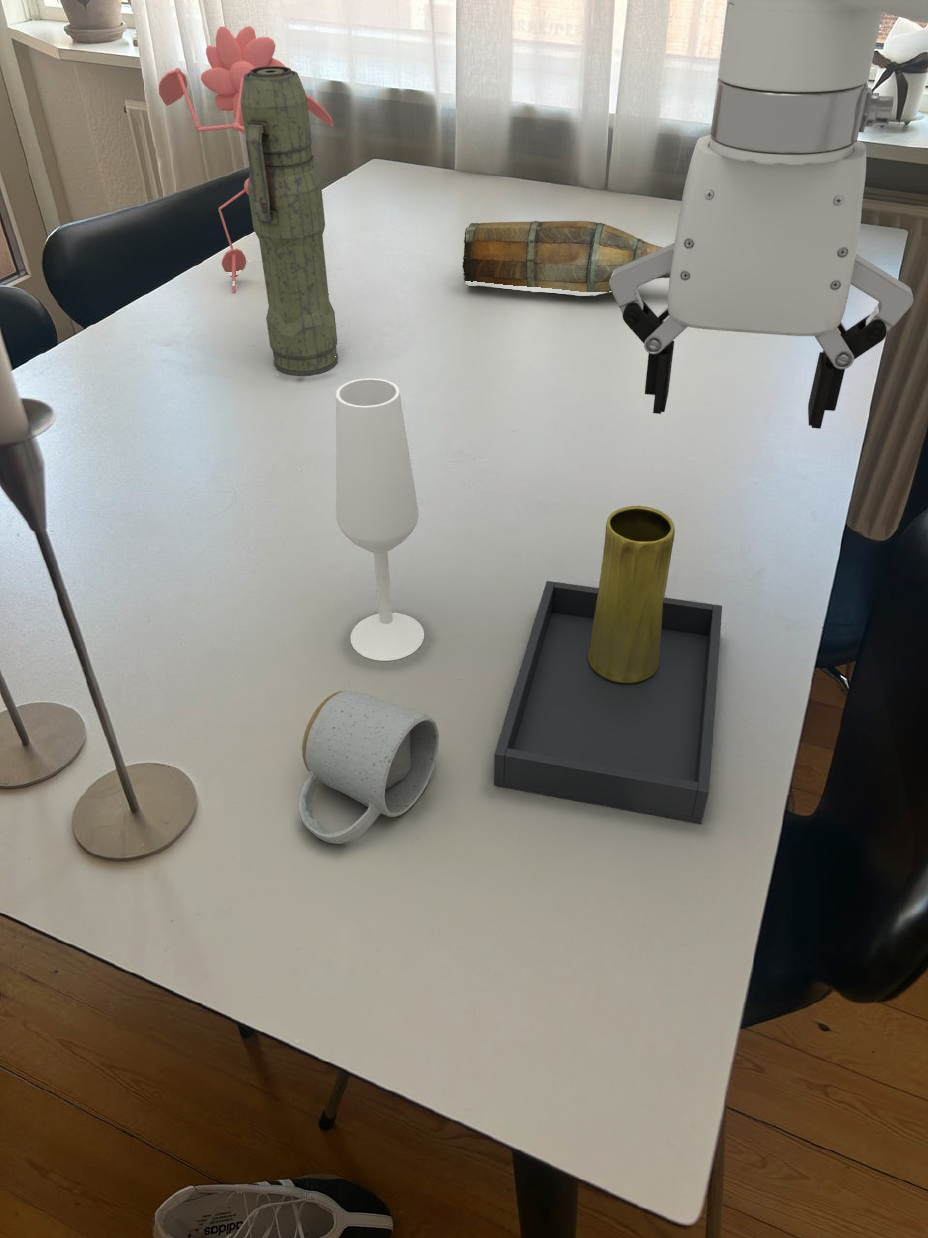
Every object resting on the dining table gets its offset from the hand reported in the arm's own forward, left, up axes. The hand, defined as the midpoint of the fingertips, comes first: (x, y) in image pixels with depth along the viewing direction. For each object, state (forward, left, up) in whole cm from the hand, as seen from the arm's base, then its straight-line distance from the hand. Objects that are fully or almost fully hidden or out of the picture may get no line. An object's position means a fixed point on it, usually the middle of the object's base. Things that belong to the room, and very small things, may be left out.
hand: (735, 411), depth 62 cm
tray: (+5, +1, -27) cm, 28 cm away
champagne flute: (+26, -3, -28) cm, 38 cm away
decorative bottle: (+17, -87, -28) cm, 93 cm away
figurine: (+70, -83, -28) cm, 112 cm away
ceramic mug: (+22, +15, -28) cm, 38 cm away
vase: (+5, -4, -27) cm, 28 cm away
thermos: (+54, -55, -28) cm, 82 cm away
